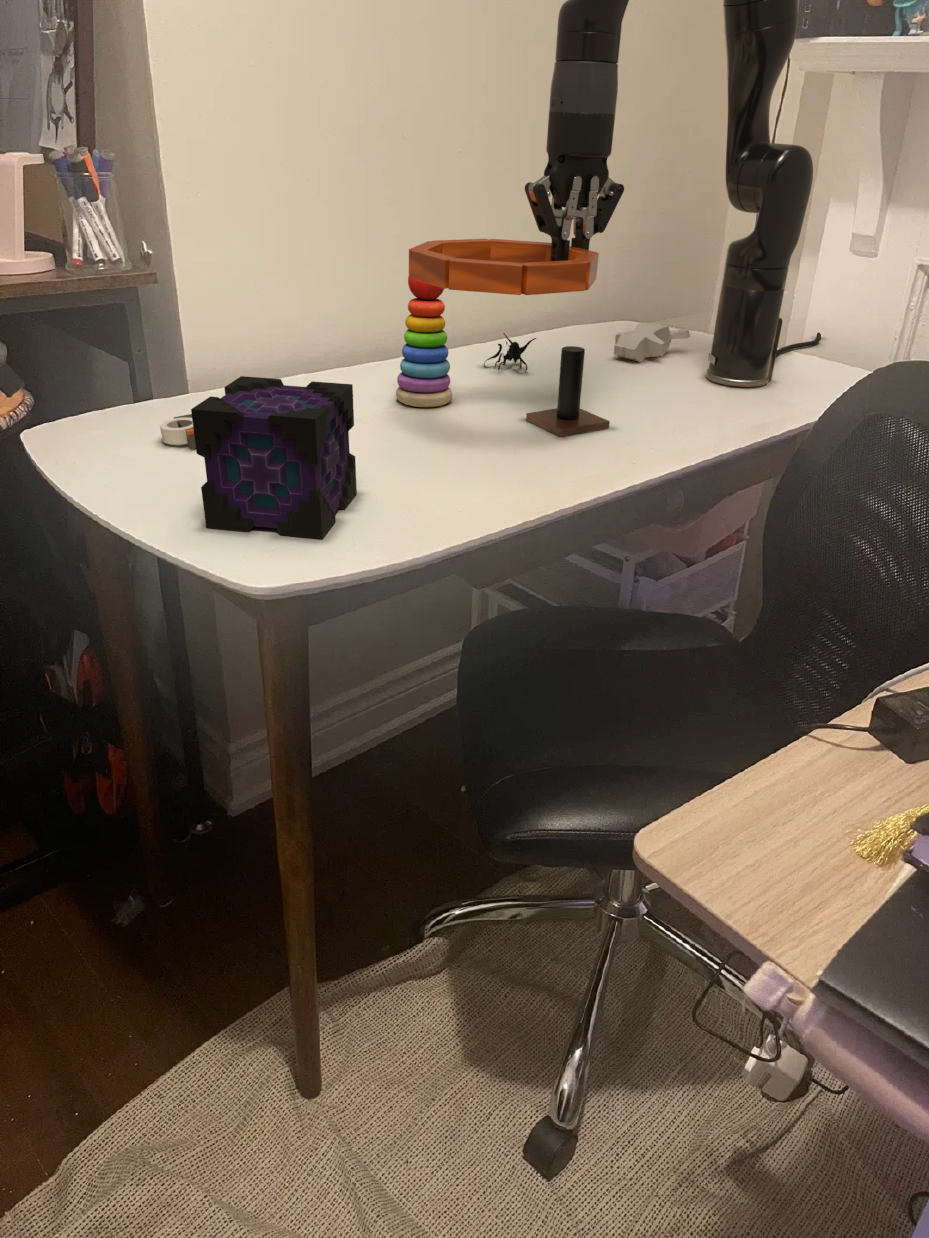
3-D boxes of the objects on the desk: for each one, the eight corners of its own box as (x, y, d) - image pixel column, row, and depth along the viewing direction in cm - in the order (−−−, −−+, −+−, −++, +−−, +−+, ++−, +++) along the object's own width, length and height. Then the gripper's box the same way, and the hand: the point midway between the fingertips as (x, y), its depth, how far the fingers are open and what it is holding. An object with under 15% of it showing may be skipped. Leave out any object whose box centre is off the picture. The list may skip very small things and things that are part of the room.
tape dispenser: (153, 417, 112) (269, 397, 118) (158, 440, 113) (272, 419, 119) (167, 433, 107) (287, 411, 113) (172, 457, 108) (290, 433, 114)
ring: (526, 261, 119) (527, 237, 118) (630, 287, 104) (633, 260, 102) (383, 269, 109) (383, 242, 108) (474, 299, 94) (476, 268, 92)
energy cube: (322, 539, 88) (315, 419, 82) (206, 528, 89) (190, 409, 83) (356, 494, 98) (352, 384, 92) (251, 484, 100) (241, 376, 94)
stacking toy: (445, 411, 125) (447, 268, 116) (389, 406, 126) (387, 264, 117) (457, 396, 132) (460, 259, 122) (404, 391, 133) (403, 256, 124)
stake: (572, 412, 126) (579, 339, 121) (609, 428, 120) (617, 352, 115) (525, 420, 122) (530, 345, 117) (560, 437, 116) (567, 359, 112)
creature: (518, 383, 142) (542, 362, 147) (516, 351, 139) (541, 331, 144) (476, 375, 146) (501, 355, 151) (473, 344, 142) (498, 324, 147)
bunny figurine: (600, 333, 152) (651, 310, 161) (600, 362, 155) (650, 339, 164) (648, 343, 146) (698, 319, 155) (646, 373, 149) (695, 349, 158)
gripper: (552, 108, 96) (540, 279, 105) (650, 112, 103) (631, 273, 111) (513, 107, 102) (504, 269, 110) (608, 111, 108) (593, 264, 117)
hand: (568, 271), depth 111 cm, fingers closed on ring, 2 cm apart
